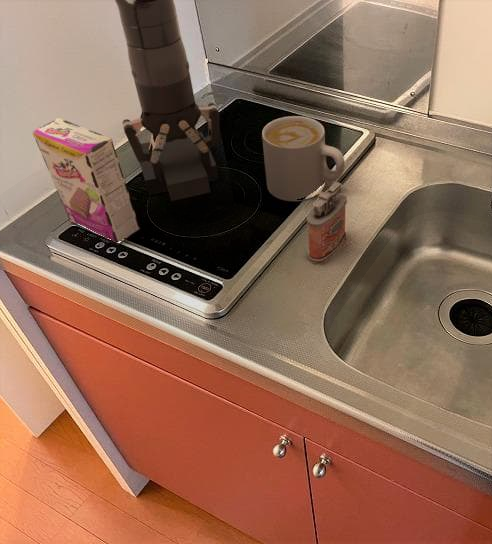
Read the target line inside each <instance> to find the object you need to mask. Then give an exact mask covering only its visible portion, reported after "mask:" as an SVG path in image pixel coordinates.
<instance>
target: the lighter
mask: <svg viewBox="0 0 492 544" xmlns="http://www.w3.org/2000/svg"><path fill="white" fill-rule="evenodd" d="M342 192H343V184H342V183H341V182H338V181H335V183H333V184H332V185H331V186H330V187H329V188H328V189H327V190H325V192H324V191H322V192H321V193H320V194H319V195H317V198H316V200H315V201H314V202H313V204H312V207H313V208H312V209H311V210H310V212H309V213H308V215H307V216H306V224H307V226H308V227H307V228H308V248H309V250H308V255H307V256H308V258H307V259H308V261H309V262H310V264H313V265H315V266H316V265H319V266H320V265H323V264H325V263H326V262H328V261H329V260H330V259H332V258H333V257H334V256H335V255H336V254H337V253H338V252H339V251H340V250H341V248H342V247H343V246H344V244H345V242H346V240H347V231H346V205H347V203H348V197H347V195H346V194H344V193H342Z"/></svg>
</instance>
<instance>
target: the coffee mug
mask: <svg viewBox="0 0 492 544" xmlns="http://www.w3.org/2000/svg"><path fill="white" fill-rule="evenodd" d="M261 139H262V150H263V158H264V171H265V180H266V188H267V191H268V192H269V194H271V195H272V196H273V197H275V198H277V199H278V200H281V201H286V202H304V201H308V200H307V199H303V200H297V199H301V198H304V197H306V196H308V195H310V194H311V193H313V192H314V191H316V190H317V189H318V188H319V187H320V186H322V185H323V184H324V183H328V182H334V181H337V180H339V179H340V178H341V177H342V175H343V173H344V171H345V165H346V163H345V157H344V155H343V153H342V152H341V150H340V149H338V148H336V147H335V146H330V145H327V144H326V130H325V127H324V126H323V124H322V123H320V121H318V120H316V119H313V118H312V117H308V116H302V115H301V116H300V115H292V116H291V115H289V116H283V117H279V118H277V119H273V120H272V121H270V122H268V123H267V124H266V125H265V126H264V127H263V129H262V131H261ZM327 157H331V158H332V159H333V160H334V163H335V170H331V169H330V167H328V164H327Z"/></svg>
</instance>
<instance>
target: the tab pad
mask: <svg viewBox="0 0 492 544" xmlns="http://www.w3.org/2000/svg"><path fill="white" fill-rule="evenodd" d="M164 148H165V150H163V151H161V155H160V160H161V163H162V167H163V173H164V177H165V181H166V185H167V188H168V191H167V192H168V194H169V198H170V201H171V202H174V201H179V200H184V199H187V198H192V197H197V196H201V195H205V194H209V193H211V191H212V190H211V187H210V182H209V181H208V176H207V173H206V171H205V169H204V166H203V164H202V162H201V159H200V157H199V154H198V152H197V149H196V147H195V144H189V145H185V143H184V140H183V139H176V140H174V141H172V142H167V143H166V141H165V144H164Z"/></svg>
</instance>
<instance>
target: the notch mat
mask: <svg viewBox="0 0 492 544" xmlns="http://www.w3.org/2000/svg"><path fill="white" fill-rule="evenodd" d="M198 132H199V133H200V135H201V136H202V137H203V138H205V136H204V134H203V133H204V132H202V131H198ZM183 140H184V143H185V145H189V144H194V143H193V142H192V141H191V139H190V138H189V137H187V139H183ZM150 143H151V141H148V142H144V143H141V146H142V148H143V149H148V150H149V147H150ZM195 147H196V149H197V152H198V148H197V146H196V145H195ZM163 150H165V148H163ZM198 154H199V153H198ZM209 156H210V161H211V169H208V173H207V176H208V181H209V183H211V182H217V181H220V177H219V172H218V165H217V163H216V160H215V159H214V156H213V154H212V152H211V149H210V150H209ZM139 164H140V168H141V171H142V175H143V179H144V183H145V187H146V190H147V194H148V196H153V195H158V194H163V193H167V192H168V188H167V185H166V182H163V183H161V180H157V179H156V178H155V175H154V171H153V167H152V164H151V162H149V161H144V162H139Z"/></svg>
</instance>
